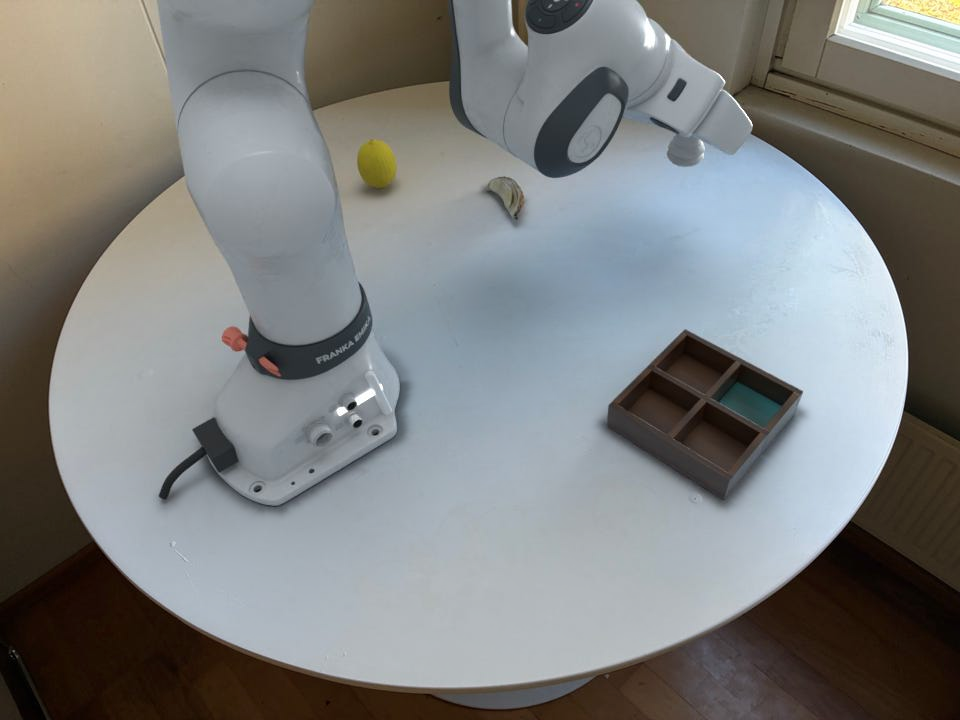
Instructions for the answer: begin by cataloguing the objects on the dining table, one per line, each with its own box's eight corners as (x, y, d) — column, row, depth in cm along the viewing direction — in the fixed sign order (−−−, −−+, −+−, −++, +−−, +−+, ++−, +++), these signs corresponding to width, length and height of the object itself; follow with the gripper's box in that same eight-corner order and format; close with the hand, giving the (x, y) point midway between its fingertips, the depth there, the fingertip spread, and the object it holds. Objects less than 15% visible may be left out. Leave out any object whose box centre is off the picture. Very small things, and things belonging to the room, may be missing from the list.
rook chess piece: (703, 169, 91) (714, 108, 85) (665, 167, 92) (673, 106, 86) (703, 148, 94) (714, 87, 88) (666, 146, 95) (674, 86, 89)
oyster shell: (498, 223, 113) (532, 222, 104) (477, 216, 111) (509, 214, 102) (509, 183, 113) (544, 179, 104) (487, 175, 111) (520, 170, 102)
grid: (723, 500, 75) (729, 480, 72) (606, 426, 82) (608, 405, 79) (795, 412, 81) (803, 391, 78) (681, 350, 88) (685, 328, 85)
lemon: (407, 182, 114) (399, 135, 108) (385, 202, 111) (375, 155, 105) (378, 172, 116) (368, 125, 110) (355, 192, 113) (344, 145, 107)
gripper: (558, 66, 86) (617, 113, 97) (694, 140, 74) (744, 184, 85) (589, 13, 84) (646, 68, 95) (734, 81, 73) (780, 134, 83)
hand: (693, 123), depth 90 cm, fingers closed on rook chess piece, 3 cm apart
